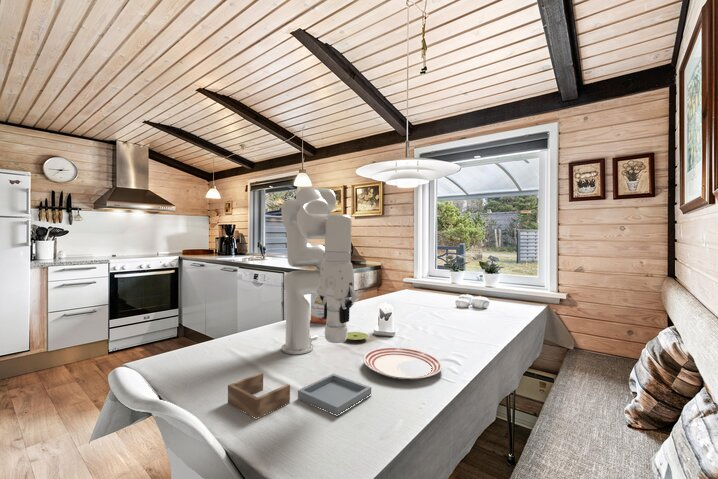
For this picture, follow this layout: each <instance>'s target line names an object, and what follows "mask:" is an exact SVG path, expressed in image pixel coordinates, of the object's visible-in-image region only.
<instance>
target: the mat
mask: <svg viewBox="0 0 718 479" xmlns="http://www.w3.org/2000/svg"><path fill="white" fill-rule="evenodd" d="M368 337H369V335H368V334H367V333H365V332H360V331H348V335H347V339H346V340H354V341H355V340H357V341H358V340H364V339H367V338H368Z"/></svg>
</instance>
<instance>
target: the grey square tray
mask: <svg viewBox="0 0 718 479" xmlns="http://www.w3.org/2000/svg"><path fill="white" fill-rule="evenodd" d="M370 394H371V395H372V386H369V385H366V384H362V383H360V382H358V381H354V380H352V379H349V378H346V377H344V376H341V375H339V374H336V373H331V374H329V375H327V376H325V377H323V378H321V379H319V380H317V381H315V382H313V383H310V384H308V385H306V386H304V387H302V388H300V389H297V400H299V401H301V400H302V402H304V403H306V404H308V403H309V404H308V405H310V404H312V405H314V406H316V407H315V408H317V407H319V408H321V409H324V410H326V411H328V412H331V413H333V414H336V415H338V414H340V413H341V412H343V411H345V410H346V409H348V408H350V407H351V406H353V405H354V404H356V403H358V402H359V401H361V400H362V399H364V398H366V397H367V396H369V395H370ZM312 405H311V406H312ZM314 406H313V407H314ZM319 408H318V409H319ZM321 409H320V410H321Z"/></svg>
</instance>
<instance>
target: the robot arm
mask: <svg viewBox="0 0 718 479" xmlns="http://www.w3.org/2000/svg"><path fill="white" fill-rule="evenodd" d="M336 204H337V197H336V193H335V192H334V191H333V190H332V189H330V188H326V187H315V186H313V187H312V186H305V187H302V188H300V189H299V190H298V191H297V193H296V195H295V198H293V199H287V200H285V201H284V202H283V203H282V205H281V210H280V211H281V212H280V213H281V220H282V222H283V225H284V228H285V233H286V253H287V255H286V256H287V257H286V258H287V263H288V265H289V266H290V267H293V268H314V269H313V270H312V269H311V270H307V269H306V270H293V271H289V272H288V273H286V274H285V276H284V278H283V286H284V291H285V292H284V293H285V343H284V344H282V346H281V351H282V352H283V353H285V354H290V355H302V354H303V355H304V354H308V353H310V352H312V351H313V350H314V345H313V343H312V342H313V341H317V340H318V338H319V336H318V335H316V334H315V335H310V333H311V332H310V331H311V330H310V329H311V322H310V319H311V303H310V302H309V301H308V299H307V298H306V297H305V296H306V295H311V294H318V295H319V296H320V299H321V300H322V304H323V305H324V319H327V302H326V290H327V289H328V288H331V289H333V291H334V298H336V299H341V304H342V308H343V309H341V310H340V322H341V323H346V324H347V323H348V322H350V309H351V308H352V307H353V305H354V304H355V303H356V302H357V301H358V300H359V299H360V297H359V295H358V293H357V292H356V290H355V274H354V273H355V272H354V267H353V263H352V262H351V260H352V259H351V258H352V218H351V216H350V215H348V214H339V213H337V214H335V213H334V214H331V213H332V212H333V211H334V209H335V208H336ZM321 239H322V240H324V246H323V244H320V243H310V242H309V240H321ZM345 300H346V302H345Z"/></svg>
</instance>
